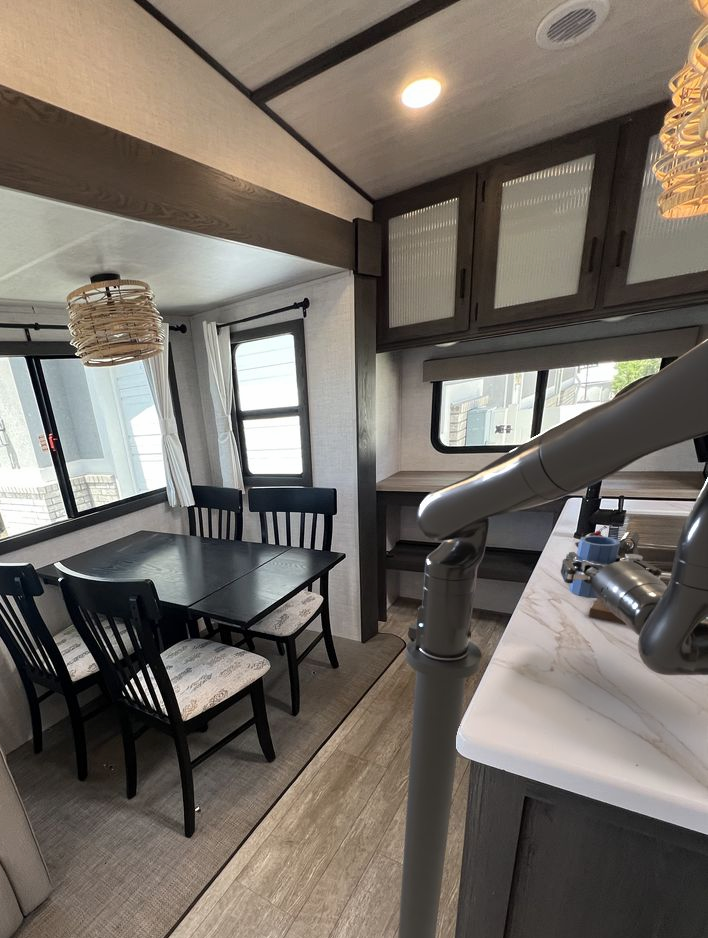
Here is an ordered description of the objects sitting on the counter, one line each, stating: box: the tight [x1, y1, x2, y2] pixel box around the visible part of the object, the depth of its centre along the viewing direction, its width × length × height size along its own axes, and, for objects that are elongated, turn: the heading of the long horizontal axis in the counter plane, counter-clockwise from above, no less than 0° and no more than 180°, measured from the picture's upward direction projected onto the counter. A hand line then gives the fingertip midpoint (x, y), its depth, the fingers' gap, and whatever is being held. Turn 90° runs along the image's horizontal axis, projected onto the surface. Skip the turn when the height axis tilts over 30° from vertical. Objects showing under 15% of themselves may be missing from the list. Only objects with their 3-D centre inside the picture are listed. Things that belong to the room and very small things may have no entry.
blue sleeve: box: [568, 535, 621, 599], centre depth 85 cm, size 6×6×10 cm
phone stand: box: [618, 531, 640, 556], centre depth 108 cm, size 9×6×12 cm, turn 46°
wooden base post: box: [588, 553, 644, 625], centre depth 95 cm, size 9×9×13 cm
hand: (589, 557), depth 86 cm, fingers closed on blue sleeve, 5 cm apart
